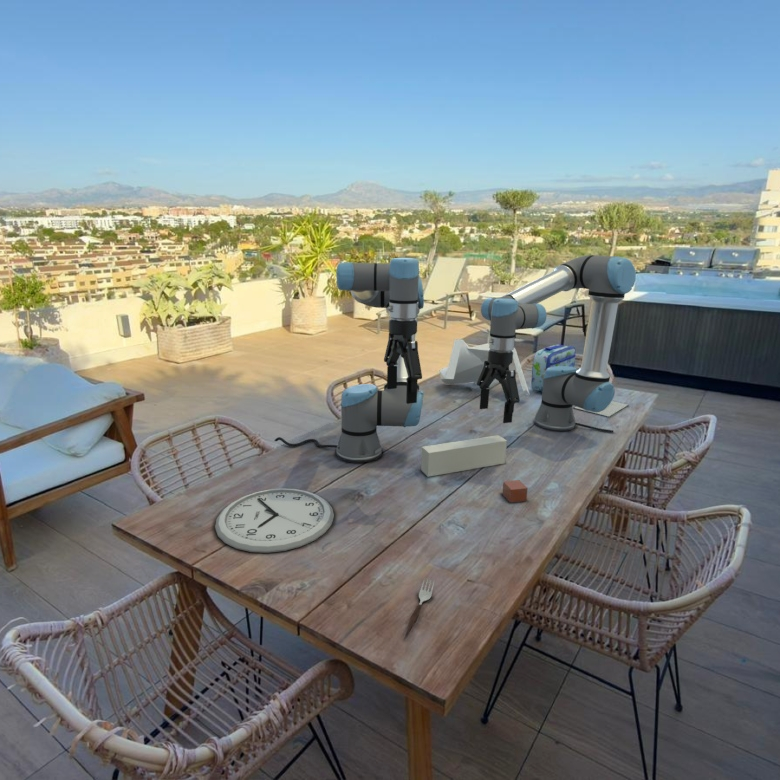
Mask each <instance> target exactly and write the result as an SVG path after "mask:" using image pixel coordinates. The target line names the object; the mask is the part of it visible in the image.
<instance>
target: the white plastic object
mask: <svg viewBox="0 0 780 780" xmlns="http://www.w3.org/2000/svg"><path fill="white" fill-rule="evenodd" d="M489 350H490V348H489V342H487V343H483V344H479V345H473V346H469V345H468V343H466V342H465V340H464V339H463V338H460V339H458V338H454V340H453V344H452V349H451V353H450V357H449V362H448V366H446V367H444V368H442V369H440V370H439V371H438V372H439V376H440V381H442V383H443V384H444V385H445V386H449V385H458V384H467V383H468V384H469V383H473V384H477V382H478V379H479V377H480V374H481V372H482V369H483V367H484V361H488V351H489ZM512 352H513V363H514V366H515V370H516V374H517V376H518V380H519V382H520V385H521V389H522V391H523V393H524V395H525V396H526V397H528V396H531V395H530V390H529V388H528V387H529V386H528V384H527V381H526V378H525V375H524V371H523V369H522V368H523V367H522V366H521V362H520V359H519V355H518V352H517V349H516V347H514V349H513V350H512ZM515 399H516V398H515Z"/></svg>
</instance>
